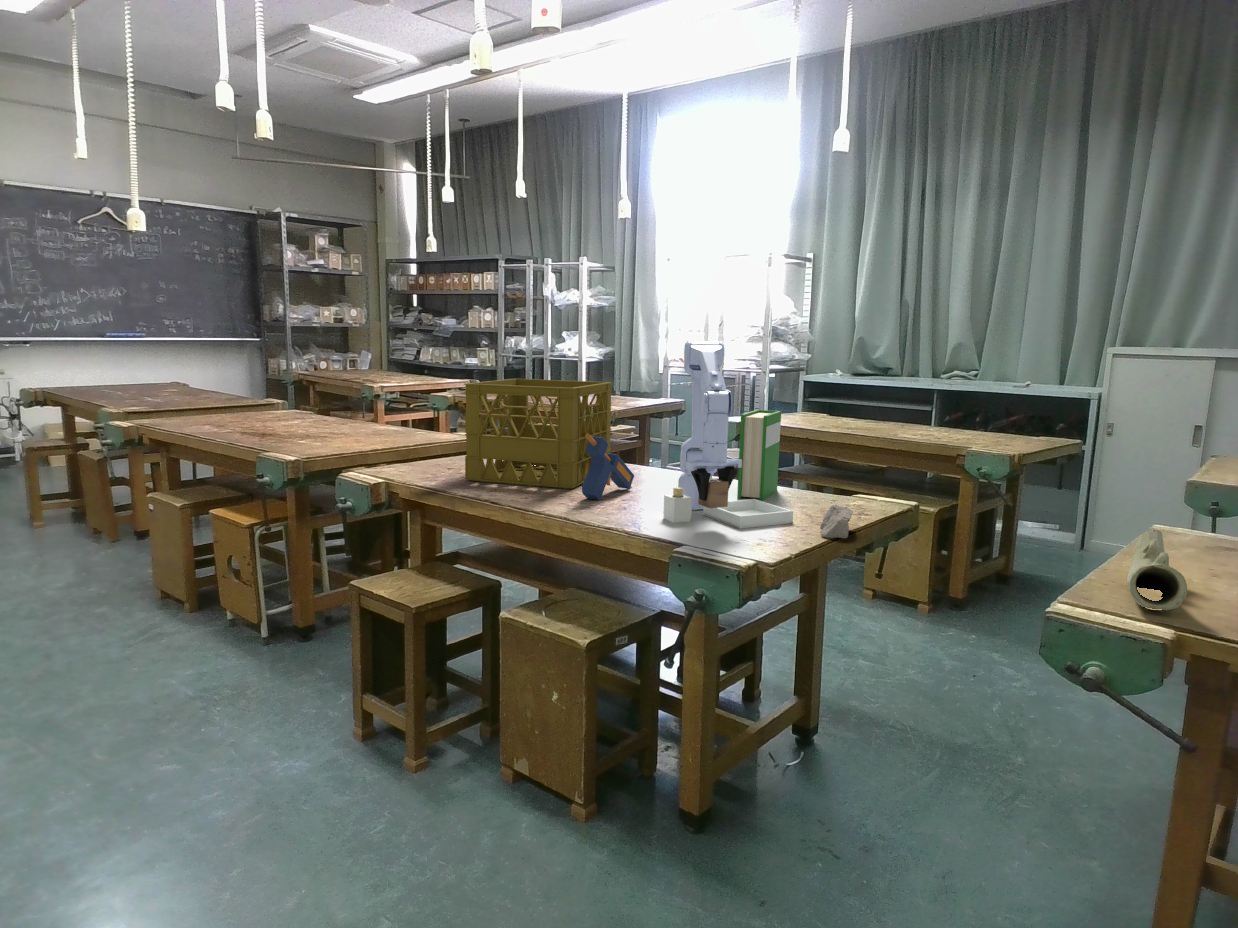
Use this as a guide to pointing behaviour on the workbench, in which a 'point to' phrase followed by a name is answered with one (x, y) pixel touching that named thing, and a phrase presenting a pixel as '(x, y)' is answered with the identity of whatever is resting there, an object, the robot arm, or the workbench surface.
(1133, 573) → the pipe
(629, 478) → the glue gun
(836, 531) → the concrete fragment
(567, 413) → the milk crate
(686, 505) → the pale grey block
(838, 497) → the workbench surface
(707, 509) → the tray
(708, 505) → the walnut block
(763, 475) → the hardback book
